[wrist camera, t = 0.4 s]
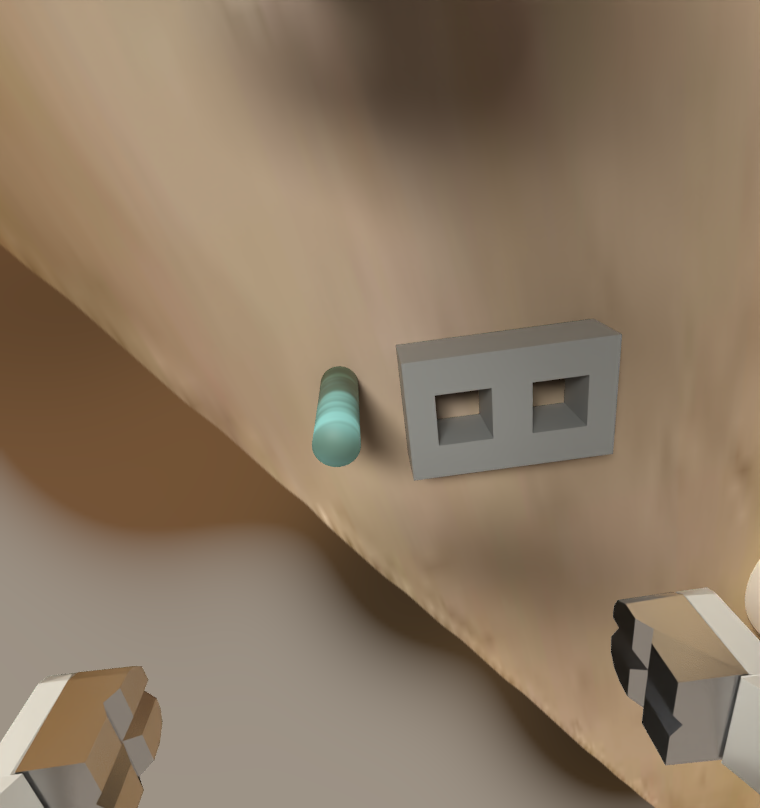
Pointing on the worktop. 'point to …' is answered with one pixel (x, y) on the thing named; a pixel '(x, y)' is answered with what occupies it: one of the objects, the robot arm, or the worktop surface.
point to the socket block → (510, 397)
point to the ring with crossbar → (753, 597)
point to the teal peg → (337, 418)
